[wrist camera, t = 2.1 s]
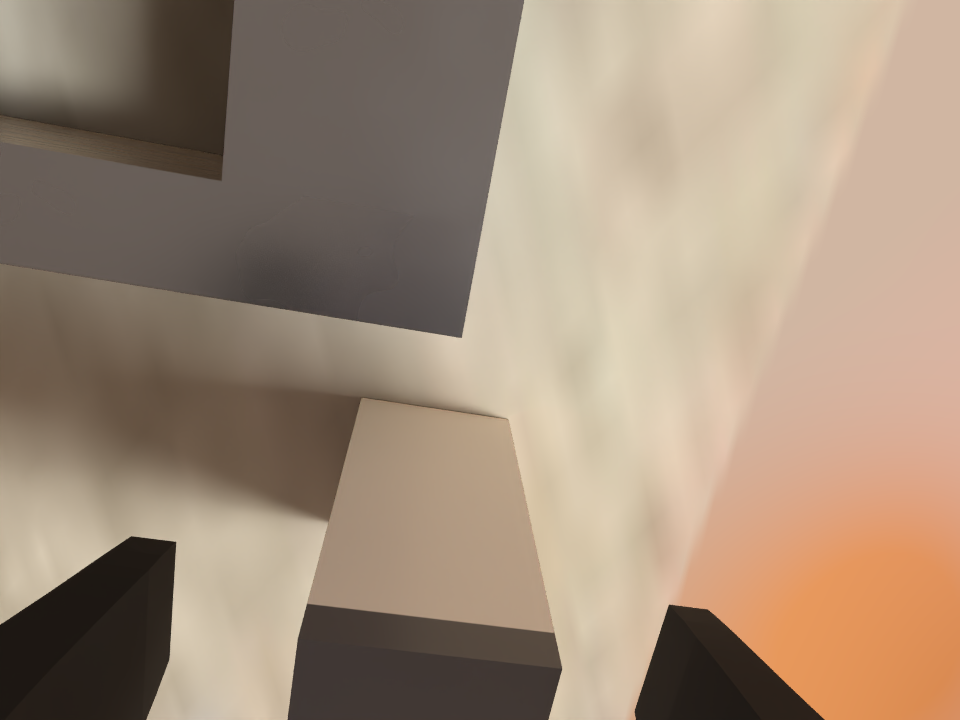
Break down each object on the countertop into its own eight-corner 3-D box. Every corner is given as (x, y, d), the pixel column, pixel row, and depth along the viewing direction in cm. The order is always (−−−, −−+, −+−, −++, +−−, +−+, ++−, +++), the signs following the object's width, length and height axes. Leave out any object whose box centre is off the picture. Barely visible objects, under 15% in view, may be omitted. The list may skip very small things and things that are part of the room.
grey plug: (481, 544, 16) (510, 855, 9) (343, 526, 16) (272, 836, 9) (508, 419, 15) (562, 668, 8) (361, 397, 15) (298, 638, 8)
